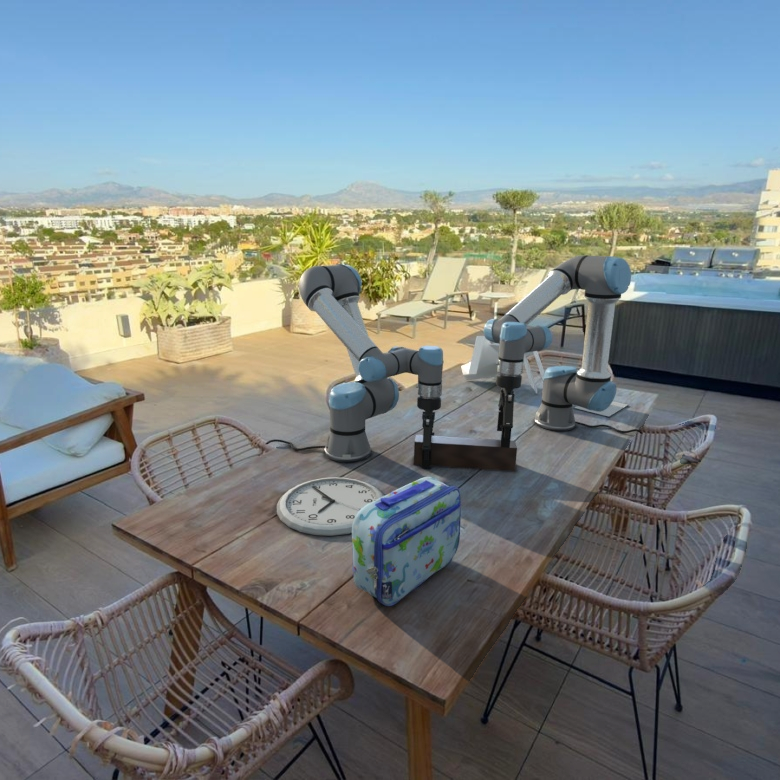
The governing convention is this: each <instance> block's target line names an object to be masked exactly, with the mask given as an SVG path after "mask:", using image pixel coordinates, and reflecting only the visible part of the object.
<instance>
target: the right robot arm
mask: <svg viewBox="0 0 780 780" xmlns="http://www.w3.org/2000/svg"><path fill="white" fill-rule="evenodd" d="M631 281H632V271H631V267H630V264H629V263H628V261H627V260H626V259H624V258H622V257H617V256H611V255H609V256H608V255H587V254H581V255H576V256H573V257H571V258H569V259H567V260H565V261H563V262H561V263H560V264H558V265H557V266H555V267H554V268H553V269H552V270H550V271H549V272H548V273H547V275H546V278H545V279H544V280H543V281H542V282H541V283H539V284H538V286H536V287H535V288H534V289H533V290H532V291H530V292H529V293H528V294H527V295H526V296H525V297H523V299H521V300H520V301H519V302H518V303H517V304H515V306H513V307H512V308H511V309H509V311H508V312H506V313H505V314H504V315H503V316H502V317H501V318H499V319H498V318H491V319H488V320H487V322H486V323H485V324H484V327H483V336H485V338H486V339H487V340H488V341H489V342H490V343H498V344H500V346H499V357H498V361H499V362H496V365H498V368H497V371H498V372H499V373H498V374H497V377H496V379H495V385H496V386H497V387H499V388H500V390H499V391H500V392H499V401H498V405H497V406H498V414H497V423H496V425H497V426H496V432H501V435H500V440H501V444H500V447H506V448H510V440H511V437H512V430H513V428H514V405H515V398H516V397H515V396H516V395H515V391H514V390H516V389H517V390H518V389H519V388H521V386H522V380H523V379H522V378H523V376H522V374H523V372H524V353H527V352H533V351H538V352H540V351H544V350H546V349H548V348H550V346H552V343H553V333H552V330H551V329H550V328H549V327H548V326H545V325H536V326H534V325H529V324H530V323H531V322H533V321H534V320H535V319H536V318H537V317H538V316H539V315H540V314H542V313H543V312H544V311H545V310H546V309H547V308H549V306H550V305H551V304H553V303H554V302H555V301H556V300H557V299H558V298H559V297H561V295H562V296H565V295H567V294H568V293H569V292H571V291H572V290H583V291H584V298H585V299H586V300H587V302H588V305H587V314H586V322H585V333H584V341H583V351H582V358H581V359H582V361H581V367H580V368H579V369H578V368H577V367H576V366H571V365H570V366H569V365H557V366H556V365H555V366H550V367H547V368H546V369H545V370H544V372H545V375H544V378H543V379H544V382H543V381H542V394H541V402H540V405H539V407H538V410H537V411H536V413H535V416H534V424H535V425H536V426H537V427H539V428H542V429H544V430H549V431H556V432H567V431H572V430H574V429H575V428H576V425H579V426H582V427H586V428H590V429H591V428H592V429H595V428H600V427H601V428H608V429H611V430H613V431H615V432H616V433H620V434H630V433H633V432H637V433H639V434H641V435H642V434H644V432H643V431H642V430H640V429H639V428H632V429H628V430H620V429H617V428H615V427H614V426H611V425H608V424H603V423H601V424H596V425H595V424H594V425H591V424H586V423H583V422H581V421H580V422H579V421H576V418H575V417H576V416H575V413H574V407H573V406H580V407H583V408H586V409H588V410H593V411H597V412H601V411H604V410H605V409H607V408H608V407H609V406H610V404H611V403H612V401H614V400H615V398H616V394H617V384H616V383H615V382H614V381H611V379H612V373H611V372H610V371H609V370H608V367H609V359H610V351H611V342H612V333H613V325H614V319H615V318H614V317H615V310H616V303H617V302H618V301H619V300H621V298H622V295H623V294H626V292H628V290H629V286H630V285H631Z"/></svg>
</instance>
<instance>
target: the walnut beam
mask: <svg viewBox="0 0 780 780" xmlns="http://www.w3.org/2000/svg"><path fill="white" fill-rule="evenodd" d="M500 444H501V439H494V438H477V437H462V436H461V437H460V436H444V435H443V436H442V435H434V436H431V464H430V467H443V468H456V469H457V468H459V469H473V470H490V471H501V472H502V471H503V472H516V465H517V453H518V447H517V443H516V440H511V439H510V448H506V447H500ZM413 446H414V447H413V449H414V450H413V465H414V466H422V450H420V448H422V447H423V434H415V437H414V445H413Z"/></svg>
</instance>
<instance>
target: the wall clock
mask: <svg viewBox="0 0 780 780" xmlns="http://www.w3.org/2000/svg"><path fill="white" fill-rule="evenodd" d="M383 496H385V494H384V493H383V492H382V491H381V490H380V489H379V488H377V487H376V486H374V485H372V484H371V483H369V482H365V481H362V480H359V479H355V478H349V477H338V476H337V477H335V476H333V477H332V476H331V477H322V478H317V479H312V480H307V481H305V482H302V483H299V484H297V485H295V486H293V487H292V488H290V489H288V490H287V491H286V492H285V493H284V494H283V495H281V496H280V498H279V499H278V502H277V503H276V515H277V517H278V518H279V520H280V521H281V522H282V523H283V524H285V525H286V526H287V527H288V528H290V529H293V530H295V531H297V532H299V533H303V534H308V535H312V536H327V537H328V536H329V537H331V536H332V537H333V536H342V535H350V534H352V526H353V521H354V518H355V516H356V515H357V513H358V512H359V510H360V509H361V508H362V507H364V506H365V505H367V504H369V503H371V502H373V501H375V500H377V499H379V498H381V497H383Z"/></svg>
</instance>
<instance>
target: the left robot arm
mask: <svg viewBox="0 0 780 780" xmlns="http://www.w3.org/2000/svg"><path fill="white" fill-rule="evenodd" d="M362 282H363V281H362V278H361V275H360V273H359V272H358V270H357V269H356V268H355V267H353V266H351V265H349V264H342V263H337V264H328V265H327V264H326V265H313V266H311V267H309V268H307V269H306V270H304V271H303V273H302V274H301V275H300V279H299V281H298V292H299V296H300V299H301V300H302V301H303V303H304V305H305V306H306V307H307V308H308V309H309V310H310V311H311V312H315V313H316V314H317V315H318V316H319V318H320V319H321V320H322V322H324V323H325V324H326V326H327V327H328V329H330V330H331V332H332V333H333V334H334V336H336V338H337V339H338V340H339V341H340V342H341V343H342V345H343V346H344V347H345V348H346V351H347V354H348V357H349V360H350V363H351V366H352V368H353V371H354V373H355V378H354V380H353V381H349V382H343V383H339V384H337V385H334V386H333V387H332V388H331V390H330V391H329V400H328V405H329V435H328V437H327V440H326V443H325V445H312V446H306V447H300V448H299V447H298V448H297V447H295V446H294V444H293V443H292V442H291V441H287V440H284V439H270V440H268V441H267V442H265V445H269V444H271V443H274V442H275V443H276V442H278V443H283V444H287V445H290V446H291V447H290V448H291V449H292V450H293V451H296V452H302V451H306V450H311V449H324V455H325V457H326V458H327V459H329V460H331V461H334V462H338V463H357V462H361V461H363V460H365V459H367V458H370V455H371V451H372V450H371V449H372V447H371V444H370V442H369V438H368V435H367V433H366V420H369V419H371V418H373V417H377V416H380V415H383V414H387V413H389V412H390V411H392V410H394V409H395V408H396V406H397V405H398V402H399V399H400V389H399V386H398V384H397V382H396V381H395V380H393V379H392V378H390V377H395V376H398V375H402V374H404V373H405V374H412V375H414V376H417V384H416V385H415V388H416V389H417V397H416V398H417V399H416V400H417V401H416V407H417V408H418V409H419V410H422V414H421V419H422V425H421V426H422V429H423V430H422V435H423V447H422V448H420V450H422V465H421V469H431V466H430V464H431V436H435V432H433V431H434V424H435V420H436V418H435V417H436V411H438V410H440V409H441V408H442V394H443V370H444V369H443V368H444V350H443V348H441V347H440V346H437V345H422V346H421V347H419V348H418V350H417V349H416V350H415V349H412V348H407V347H403V346H393V347H391V348H390V349H389V350H388V351H387V352H383V351H382V350H381V349H380V348H379V347H378V346H377V344H375V342H374V341H373V339H371V338H370V336H369V333H368V330H367V327H366V324H365V321H364V319H363V316H362V313H361V309H360V307H359V304H358V303H359V301H360V300H361V296H360V293H361V292H362V286H363V285H362V284H363V283H362Z"/></svg>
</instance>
